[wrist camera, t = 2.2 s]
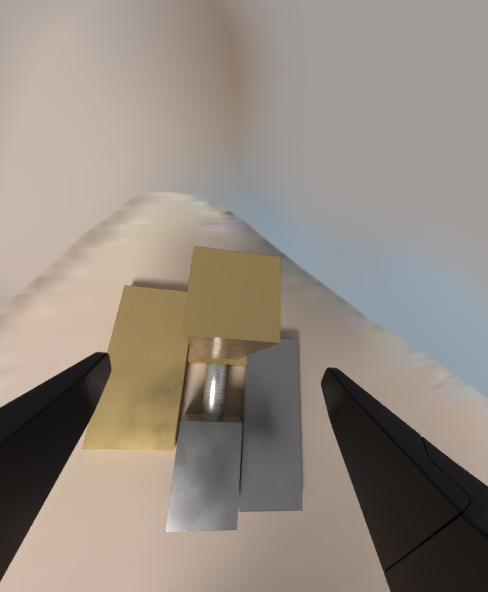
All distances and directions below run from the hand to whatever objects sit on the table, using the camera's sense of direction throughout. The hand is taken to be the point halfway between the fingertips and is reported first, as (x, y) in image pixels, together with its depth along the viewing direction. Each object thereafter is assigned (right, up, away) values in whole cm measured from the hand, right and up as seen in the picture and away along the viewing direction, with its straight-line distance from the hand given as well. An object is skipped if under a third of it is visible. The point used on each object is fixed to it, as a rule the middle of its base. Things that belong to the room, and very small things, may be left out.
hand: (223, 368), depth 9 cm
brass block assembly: (-5, -3, +9) cm, 11 cm away
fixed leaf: (+1, -5, +9) cm, 11 cm away
